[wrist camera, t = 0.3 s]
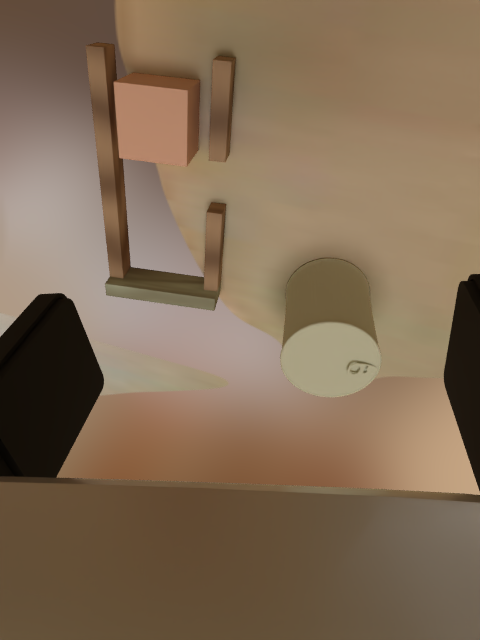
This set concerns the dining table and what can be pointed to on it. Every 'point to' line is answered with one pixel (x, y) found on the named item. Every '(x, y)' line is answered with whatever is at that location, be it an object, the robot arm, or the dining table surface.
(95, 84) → the channel
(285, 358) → the can
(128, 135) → the block
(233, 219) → the dining table surface
